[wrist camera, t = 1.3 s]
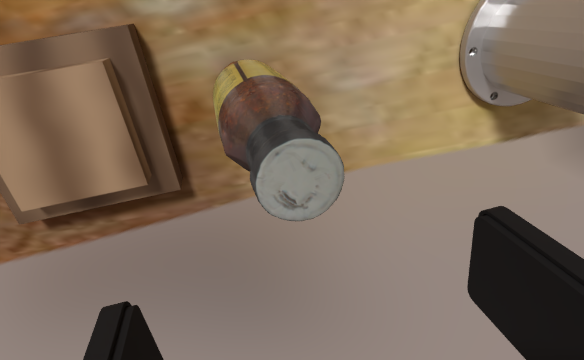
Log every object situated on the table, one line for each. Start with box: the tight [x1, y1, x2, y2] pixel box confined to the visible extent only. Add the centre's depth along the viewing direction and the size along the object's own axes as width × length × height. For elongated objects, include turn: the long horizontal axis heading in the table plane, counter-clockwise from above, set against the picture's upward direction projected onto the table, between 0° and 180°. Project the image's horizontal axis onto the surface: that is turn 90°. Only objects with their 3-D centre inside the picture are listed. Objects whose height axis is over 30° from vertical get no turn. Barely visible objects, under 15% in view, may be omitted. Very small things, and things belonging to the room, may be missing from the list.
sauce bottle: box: [213, 60, 344, 221], centre depth 24 cm, size 7×6×20 cm
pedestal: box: [0, 24, 183, 224], centre depth 29 cm, size 14×14×4 cm
